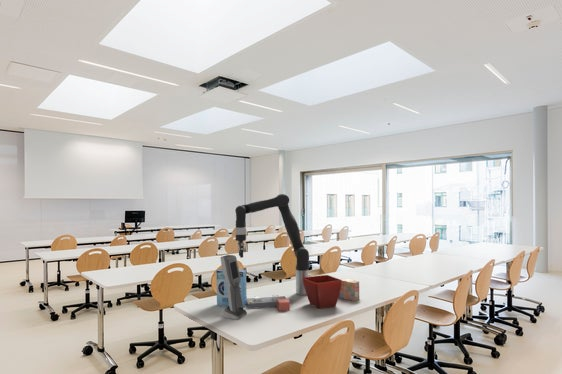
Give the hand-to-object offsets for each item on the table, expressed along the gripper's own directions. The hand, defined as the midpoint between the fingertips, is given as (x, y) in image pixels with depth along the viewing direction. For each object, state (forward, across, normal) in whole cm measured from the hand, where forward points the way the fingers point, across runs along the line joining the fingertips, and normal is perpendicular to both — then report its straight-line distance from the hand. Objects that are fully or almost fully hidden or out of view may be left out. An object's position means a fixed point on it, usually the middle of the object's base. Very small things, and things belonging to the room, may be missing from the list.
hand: (241, 256), depth 242 cm
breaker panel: (+29, -21, -15) cm, 38 cm away
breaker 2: (+26, -21, -21) cm, 39 cm away
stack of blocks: (+29, -18, -70) cm, 78 cm away
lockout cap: (+29, -32, -23) cm, 49 cm away
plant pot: (+29, -31, -49) cm, 65 cm away
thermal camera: (+29, -38, +8) cm, 48 cm away
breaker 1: (+26, -21, -9) cm, 34 cm away
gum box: (+29, -17, +8) cm, 34 cm away
